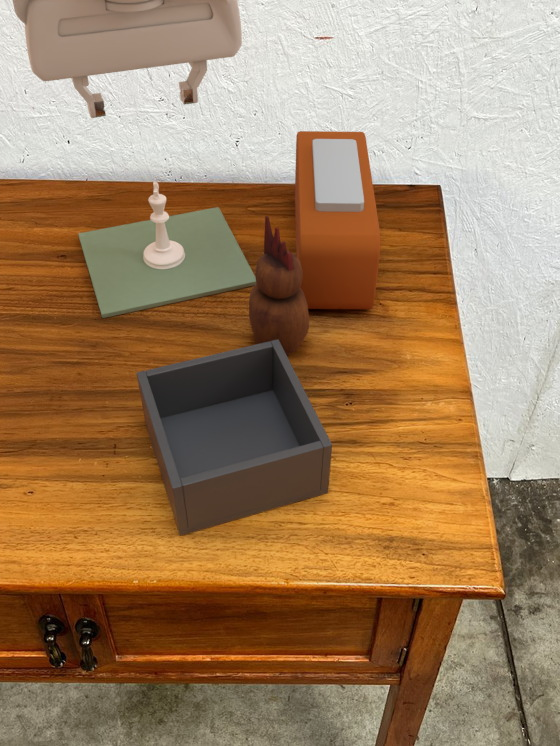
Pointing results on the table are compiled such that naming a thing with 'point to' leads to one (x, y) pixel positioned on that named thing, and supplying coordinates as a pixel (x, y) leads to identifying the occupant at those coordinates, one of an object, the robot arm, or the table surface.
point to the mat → (164, 286)
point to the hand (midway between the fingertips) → (143, 108)
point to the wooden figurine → (278, 296)
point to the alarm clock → (336, 220)
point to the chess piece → (161, 237)
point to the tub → (233, 435)
